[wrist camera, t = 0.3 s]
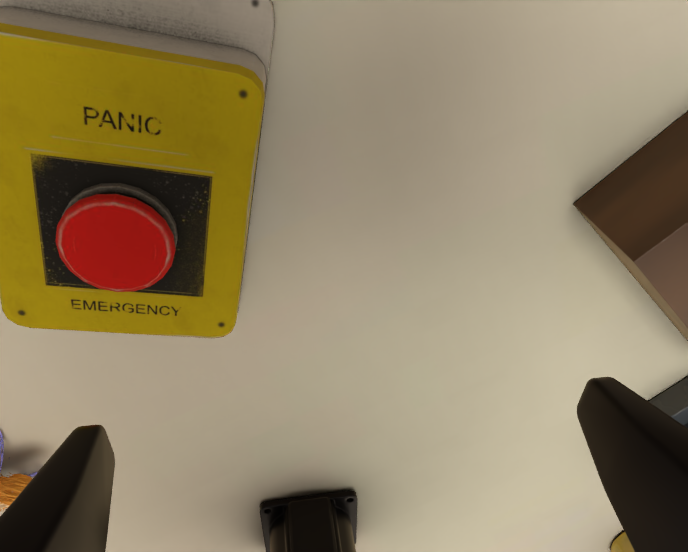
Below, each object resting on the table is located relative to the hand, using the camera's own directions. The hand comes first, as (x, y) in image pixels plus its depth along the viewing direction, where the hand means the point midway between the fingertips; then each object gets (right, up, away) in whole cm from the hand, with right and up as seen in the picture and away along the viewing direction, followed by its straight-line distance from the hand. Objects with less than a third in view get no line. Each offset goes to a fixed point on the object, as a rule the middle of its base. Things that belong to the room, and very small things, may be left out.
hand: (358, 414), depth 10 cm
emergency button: (-9, +7, +12) cm, 16 cm away
